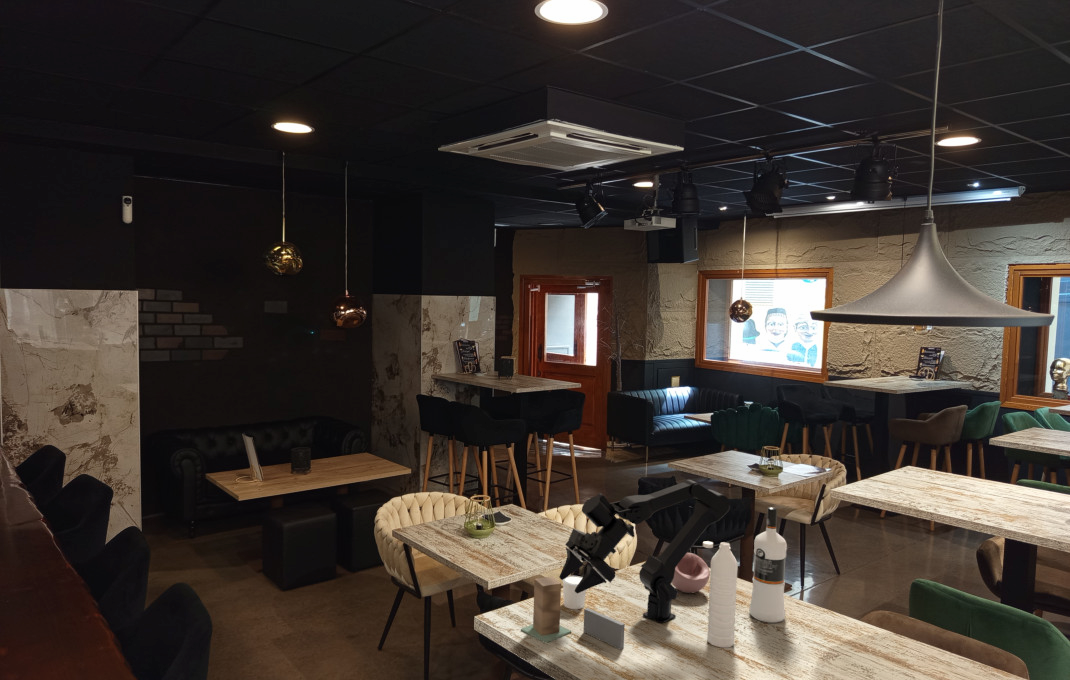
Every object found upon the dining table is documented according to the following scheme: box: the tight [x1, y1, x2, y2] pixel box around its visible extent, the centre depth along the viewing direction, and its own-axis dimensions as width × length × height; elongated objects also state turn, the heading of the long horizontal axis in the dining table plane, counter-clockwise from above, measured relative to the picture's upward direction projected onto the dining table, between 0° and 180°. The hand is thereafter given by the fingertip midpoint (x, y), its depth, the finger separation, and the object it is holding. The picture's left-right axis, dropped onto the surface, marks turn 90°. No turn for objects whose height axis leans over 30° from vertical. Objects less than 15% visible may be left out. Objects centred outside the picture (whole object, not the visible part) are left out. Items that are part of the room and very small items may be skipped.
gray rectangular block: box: [583, 607, 626, 650], centre depth 176 cm, size 1×12×6 cm, turn 44°
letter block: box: [532, 576, 562, 636], centre depth 179 cm, size 5×5×12 cm
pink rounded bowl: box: [671, 552, 711, 594], centre depth 208 cm, size 12×12×11 cm
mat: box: [520, 623, 572, 643], centre depth 179 cm, size 9×9×1 cm
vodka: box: [748, 506, 788, 624], centre depth 192 cm, size 9×9×30 cm
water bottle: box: [702, 540, 739, 648], centre depth 176 cm, size 9×6×25 cm
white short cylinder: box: [562, 575, 587, 610], centre depth 196 cm, size 7×7×7 cm
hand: (567, 585), depth 180 cm, fingers open, 9 cm apart
